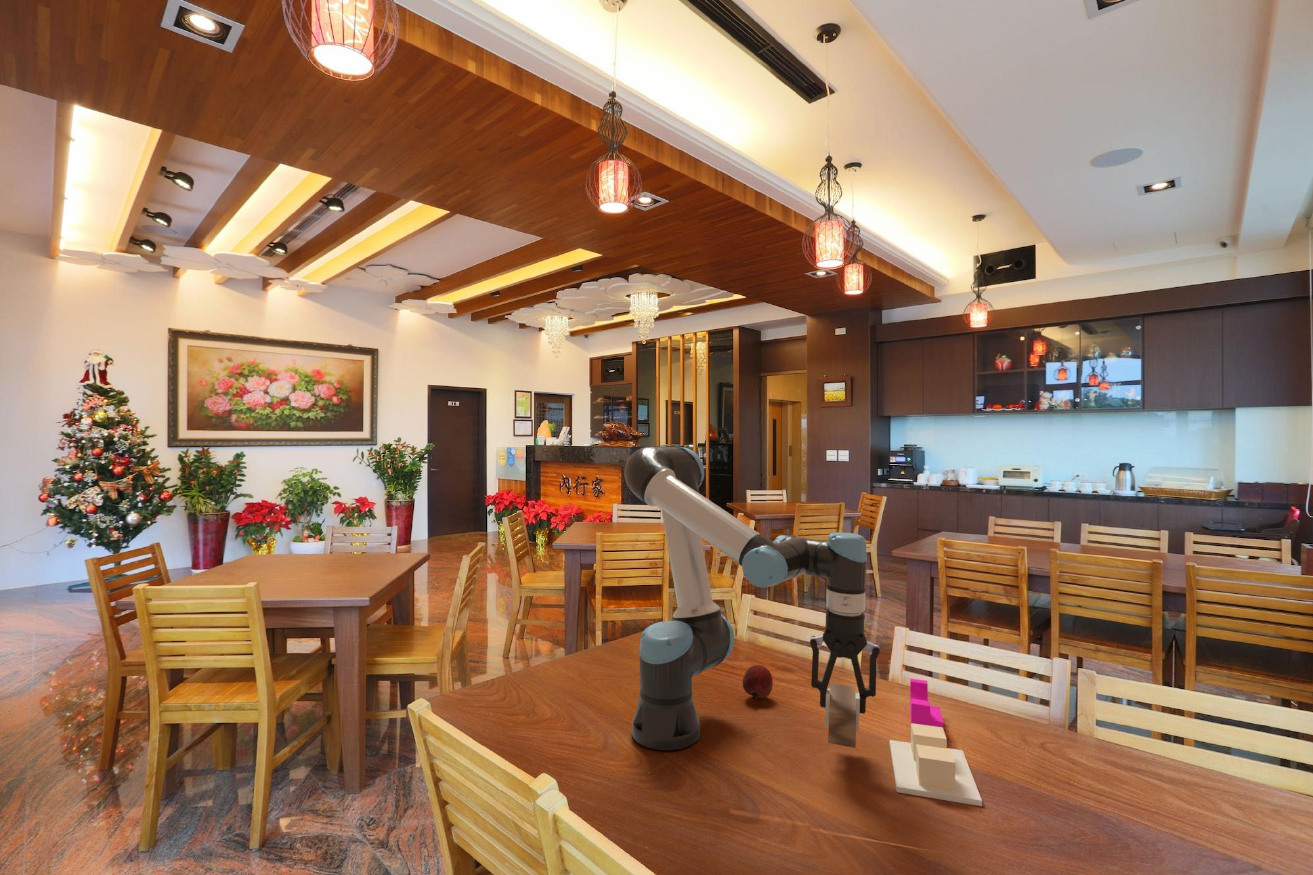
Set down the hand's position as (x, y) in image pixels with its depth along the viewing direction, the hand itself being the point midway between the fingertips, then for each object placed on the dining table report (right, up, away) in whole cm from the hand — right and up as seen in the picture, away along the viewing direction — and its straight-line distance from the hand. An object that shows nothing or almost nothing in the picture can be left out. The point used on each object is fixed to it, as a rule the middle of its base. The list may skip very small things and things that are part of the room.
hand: (841, 725), depth 119 cm
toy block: (+24, -8, +15) cm, 30 cm away
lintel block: (0, -1, 0) cm, 1 cm away
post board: (+16, -7, -4) cm, 18 cm away
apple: (-12, -8, +30) cm, 33 cm away
